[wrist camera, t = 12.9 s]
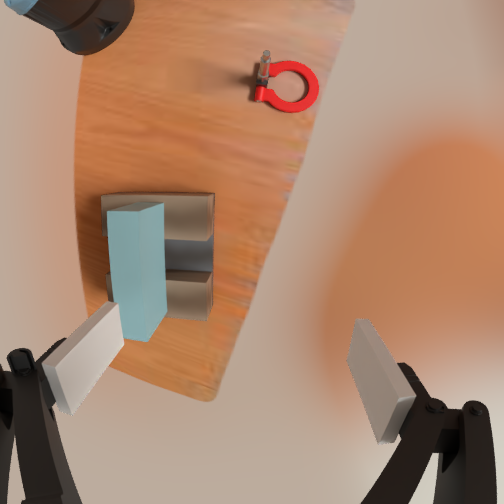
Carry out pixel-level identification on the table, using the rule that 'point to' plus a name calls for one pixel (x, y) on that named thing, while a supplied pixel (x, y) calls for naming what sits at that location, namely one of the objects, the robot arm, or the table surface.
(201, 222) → the grey grooved block
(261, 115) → the table surface
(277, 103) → the tow hook
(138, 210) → the teal beam
